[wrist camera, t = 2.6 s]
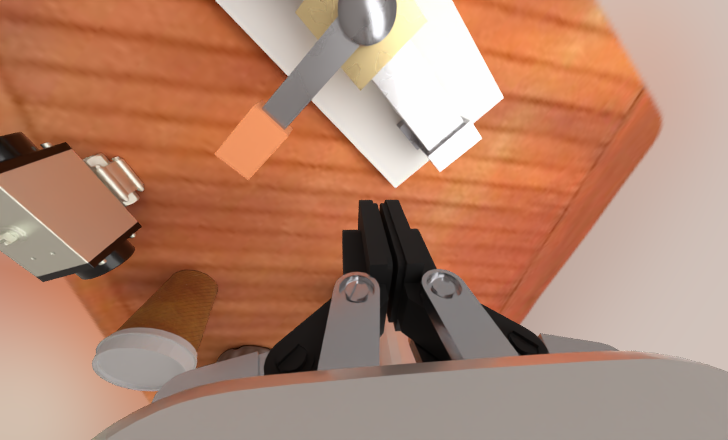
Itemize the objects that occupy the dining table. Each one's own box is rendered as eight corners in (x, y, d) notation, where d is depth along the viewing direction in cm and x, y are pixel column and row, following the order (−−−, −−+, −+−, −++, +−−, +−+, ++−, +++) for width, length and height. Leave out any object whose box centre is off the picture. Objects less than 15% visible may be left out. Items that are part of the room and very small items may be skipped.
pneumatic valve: (97, 113, 24) (-73, 153, 14) (175, 213, 31) (97, 290, 21) (45, 129, 25) (-157, 179, 15) (133, 225, 31) (36, 306, 21)
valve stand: (495, 95, 27) (550, 109, 20) (393, 182, 31) (408, 218, 24) (273, -312, 14) (214, -652, 7) (152, -70, 18) (45, -144, 12)
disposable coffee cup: (216, 257, 35) (167, 340, 25) (238, 304, 40) (204, 387, 30) (143, 264, 34) (62, 350, 24) (174, 310, 39) (119, 397, 29)
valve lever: (365, -37, 14) (370, -51, 12) (400, 17, 16) (409, 12, 14) (222, 141, 19) (209, 151, 17) (259, 171, 20) (251, 182, 18)
